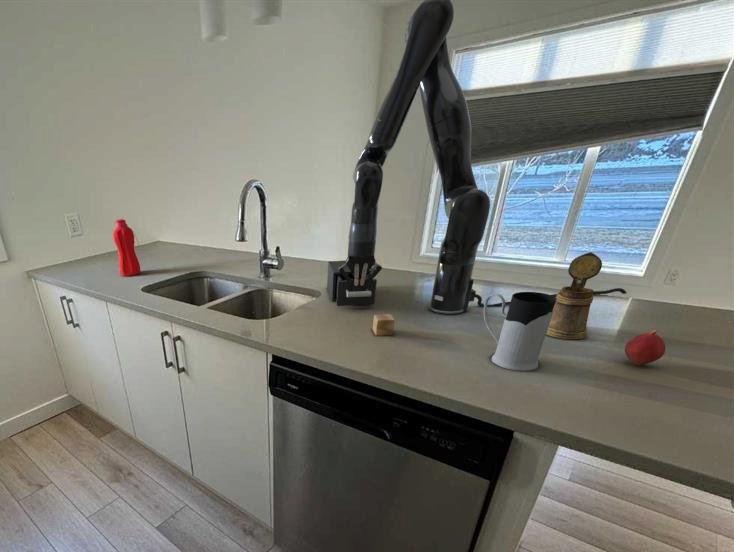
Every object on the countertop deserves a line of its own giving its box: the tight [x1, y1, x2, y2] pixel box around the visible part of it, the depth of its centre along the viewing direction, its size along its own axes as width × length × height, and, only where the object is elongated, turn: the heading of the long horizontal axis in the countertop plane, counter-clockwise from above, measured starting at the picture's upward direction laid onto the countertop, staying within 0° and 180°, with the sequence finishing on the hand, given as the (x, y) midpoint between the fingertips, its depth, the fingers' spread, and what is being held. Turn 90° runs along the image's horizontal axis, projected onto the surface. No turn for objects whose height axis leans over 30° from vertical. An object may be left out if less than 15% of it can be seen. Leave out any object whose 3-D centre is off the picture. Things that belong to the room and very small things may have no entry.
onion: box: [624, 329, 666, 367], centre depth 83 cm, size 6×6×8 cm
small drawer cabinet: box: [326, 260, 373, 302], centre depth 140 cm, size 16×13×10 cm
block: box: [372, 313, 395, 336], centre depth 109 cm, size 4×4×4 cm
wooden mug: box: [546, 251, 603, 340], centre depth 98 cm, size 9×14×18 cm, turn 139°
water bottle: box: [112, 218, 141, 277], centre depth 189 cm, size 9×11×25 cm
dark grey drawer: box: [335, 274, 378, 307], centre depth 131 cm, size 19×12×8 cm, turn 173°
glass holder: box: [483, 291, 557, 372], centre depth 89 cm, size 9×14×15 cm, turn 24°
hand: (357, 296), depth 125 cm, fingers closed
